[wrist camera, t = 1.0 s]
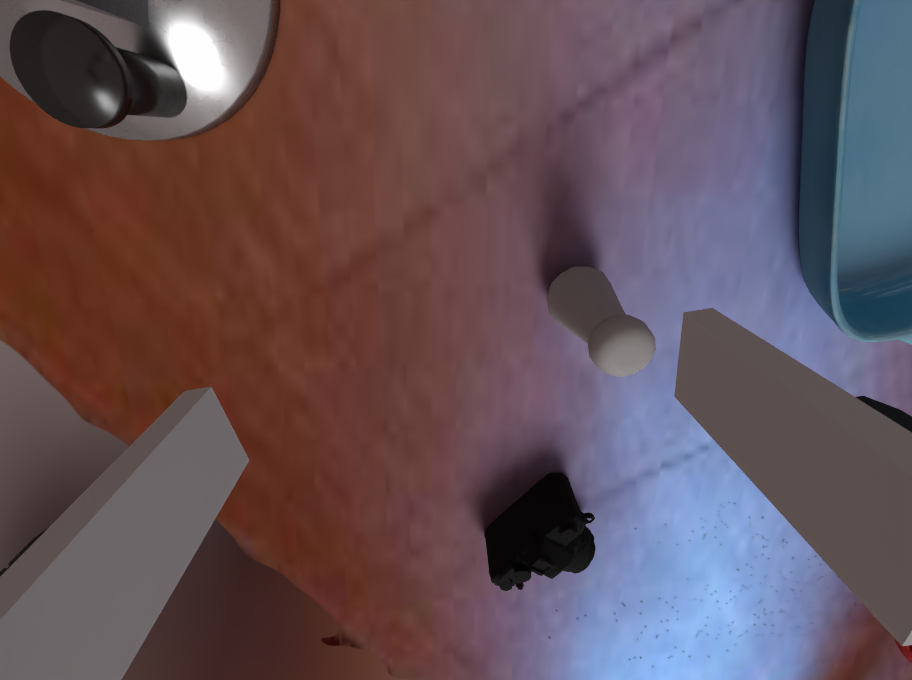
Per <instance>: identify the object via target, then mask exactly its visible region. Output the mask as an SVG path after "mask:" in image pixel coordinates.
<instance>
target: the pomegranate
mask: <svg viewBox="0 0 912 680" xmlns="http://www.w3.org/2000/svg"><path fill="white" fill-rule="evenodd" d="M894 639H895V638H894ZM895 641H896V643H897V646H898V648H899V649H900V651H901V652H902V653H903V655H904V656H905V657H906V658H907V659H908V660H909V661H910V662H911V663H912V645H908V646H901V645H900V644H899V642H898V641H897V640H896V639H895Z"/></svg>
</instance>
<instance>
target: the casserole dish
mask: <svg viewBox="0 0 912 680" xmlns="http://www.w3.org/2000/svg"><path fill="white" fill-rule="evenodd" d="M799 250H800V260H801V267H802V272H803V276H804V280H805V283H806V285H807V288H808V289H809V291H810V293H811V295H812V296H813V297H814V299H815V300H816V302H817V303H818V304H819V306H820V307H821V308H822V309H823V310H824V311H825V313H826V314H827V315H828V316H829V317H830V318H831V319H832V320H833V321H834V322H835V324H836V325H837V326H838V327H839V328H840V330H841V331H842V332H843V333H845V334H846V335H847V336H849V337H850V338H852V339H855V340H858V341H864V342H880V341H889V340H901V341H903V342H906V343H908V344H911V345H912V0H815V3H814V7H813V11H812V16H811V21H810V26H809V33H808V40H807V49H806V61H805V74H804V102H803V131H802V157H801V180H800V204H799Z"/></svg>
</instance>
